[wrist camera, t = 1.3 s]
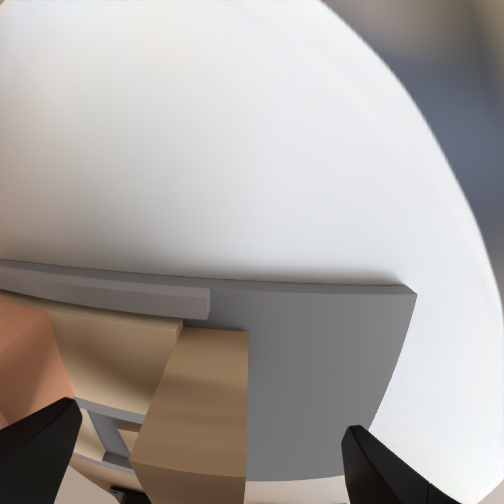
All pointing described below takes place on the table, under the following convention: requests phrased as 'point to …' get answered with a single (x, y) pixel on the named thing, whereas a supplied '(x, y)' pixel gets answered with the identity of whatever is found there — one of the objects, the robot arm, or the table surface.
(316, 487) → the table surface
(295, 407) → the lane bed
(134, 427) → the pair of tan slabs
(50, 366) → the cube
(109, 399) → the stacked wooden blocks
